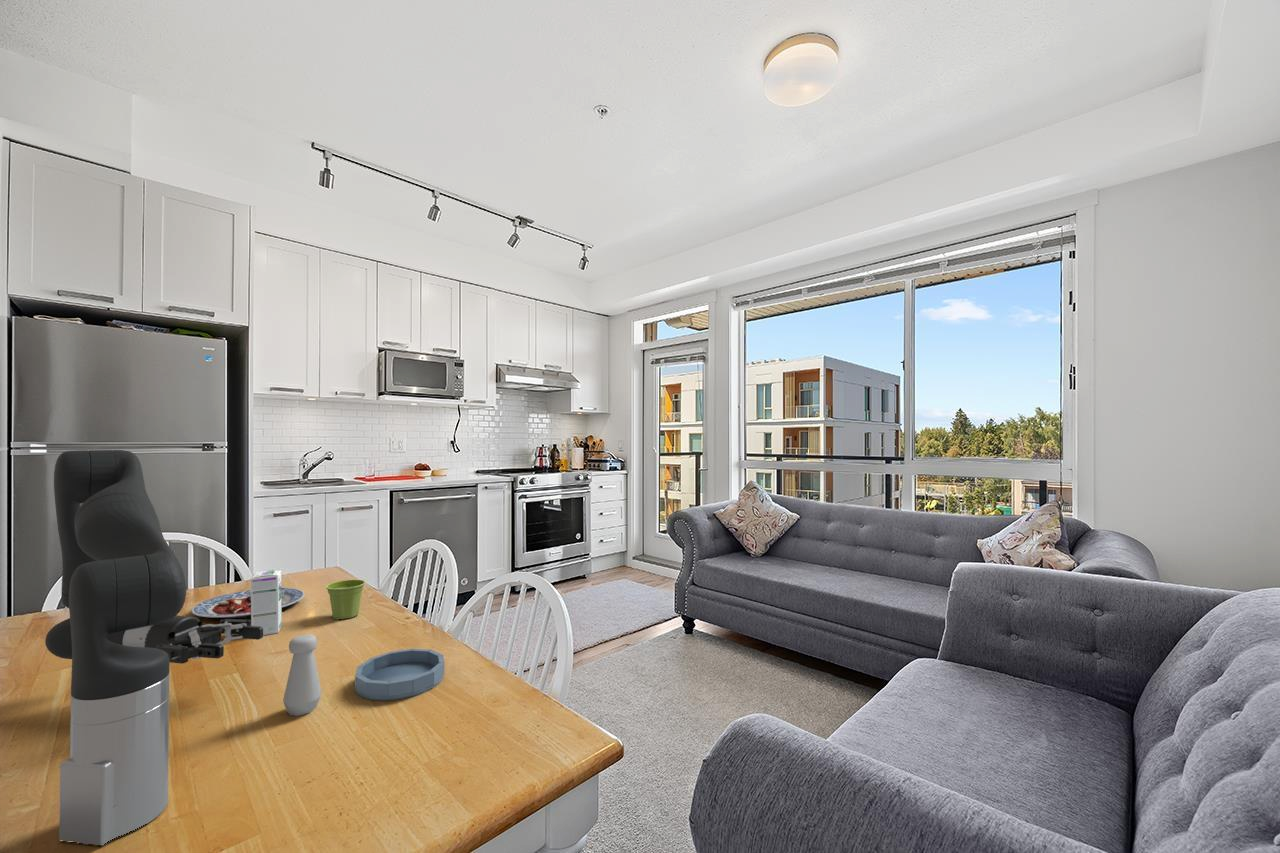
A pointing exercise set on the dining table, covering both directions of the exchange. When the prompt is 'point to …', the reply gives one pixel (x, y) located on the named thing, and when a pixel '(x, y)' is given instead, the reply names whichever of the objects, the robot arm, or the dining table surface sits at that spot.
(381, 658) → the bowl
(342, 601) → the plant pot
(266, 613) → the syrup box
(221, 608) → the ceramic plate
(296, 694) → the salt shaker
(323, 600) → the dining table surface
